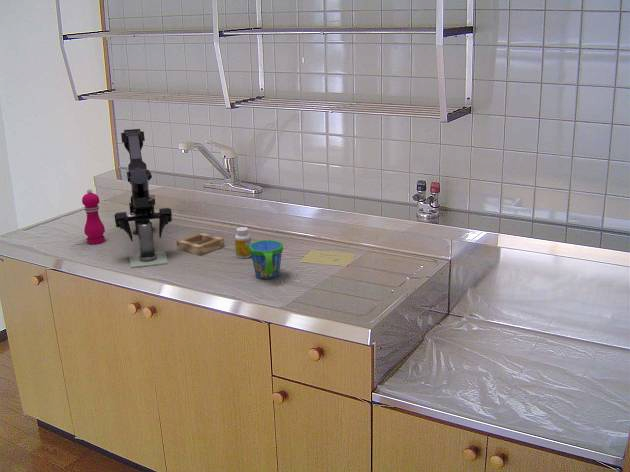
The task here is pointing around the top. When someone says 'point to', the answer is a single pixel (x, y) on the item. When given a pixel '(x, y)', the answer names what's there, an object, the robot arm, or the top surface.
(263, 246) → the snack cup
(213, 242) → the collar block
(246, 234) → the supplement bottle
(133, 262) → the rubber mat
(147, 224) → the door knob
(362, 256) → the top surface
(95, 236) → the pepper mill
